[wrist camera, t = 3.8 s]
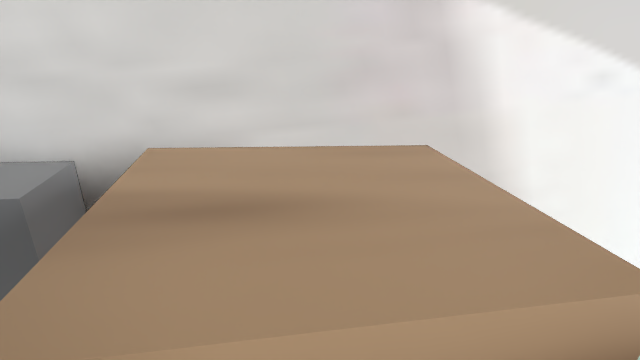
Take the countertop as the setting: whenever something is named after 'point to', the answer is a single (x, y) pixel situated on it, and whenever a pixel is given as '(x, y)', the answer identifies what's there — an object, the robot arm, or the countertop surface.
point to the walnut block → (319, 266)
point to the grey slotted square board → (34, 214)
